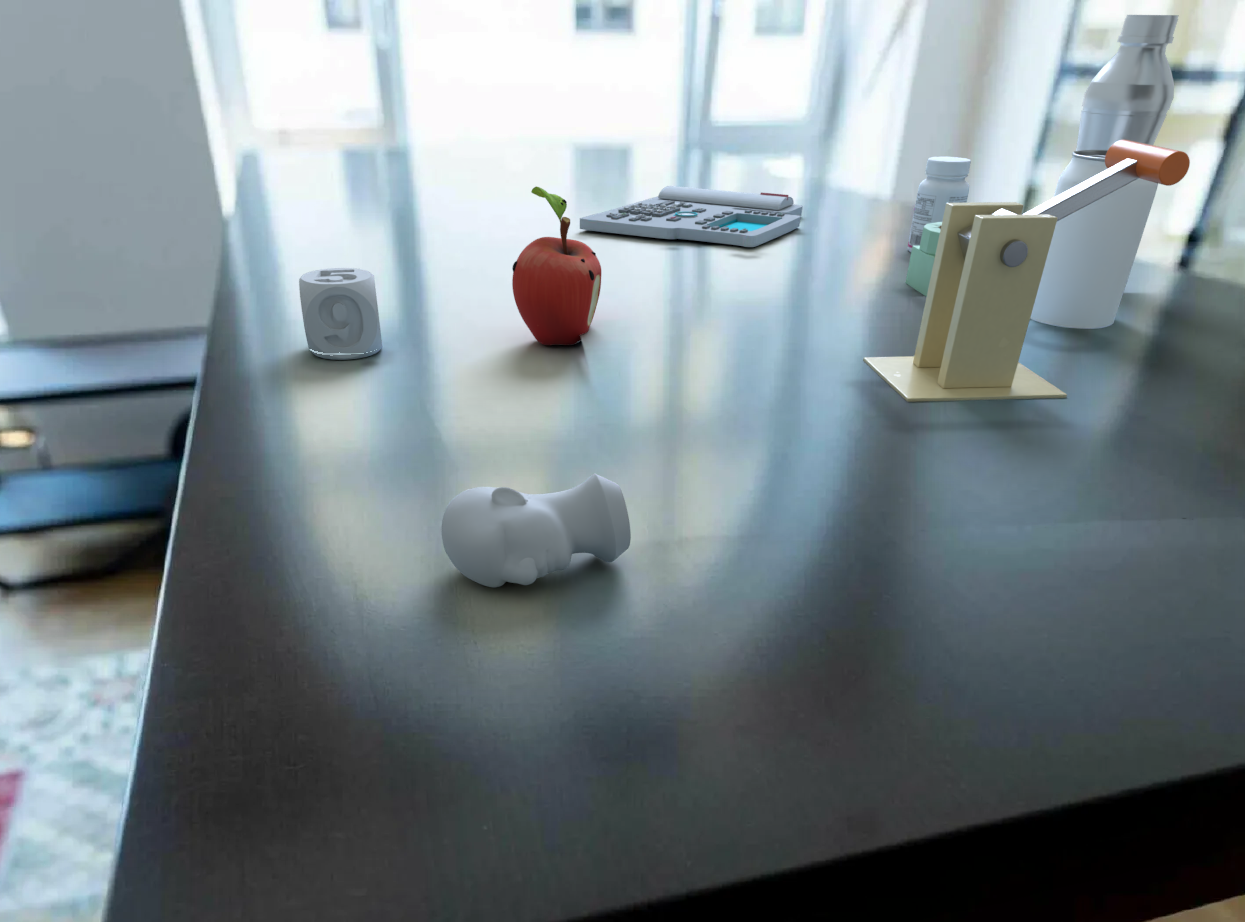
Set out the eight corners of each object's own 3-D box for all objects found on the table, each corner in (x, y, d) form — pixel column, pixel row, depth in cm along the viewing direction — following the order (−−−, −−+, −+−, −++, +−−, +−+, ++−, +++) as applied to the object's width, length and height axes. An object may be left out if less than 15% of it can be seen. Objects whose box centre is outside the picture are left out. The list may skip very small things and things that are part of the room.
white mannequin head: (444, 618, 40) (449, 533, 43) (632, 611, 40) (623, 526, 43) (431, 548, 36) (437, 460, 39) (637, 540, 36) (627, 454, 39)
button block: (998, 280, 85) (1012, 221, 82) (1038, 302, 79) (1055, 238, 76) (902, 282, 84) (913, 221, 81) (935, 303, 78) (948, 239, 75)
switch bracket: (1002, 371, 63) (1048, 197, 57) (1061, 413, 57) (1121, 221, 51) (860, 375, 63) (891, 198, 56) (903, 417, 56) (944, 223, 50)
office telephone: (672, 179, 117) (826, 193, 109) (670, 202, 118) (823, 218, 110) (578, 204, 100) (753, 223, 92) (578, 231, 102) (750, 251, 93)
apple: (625, 342, 68) (629, 192, 62) (558, 363, 64) (556, 204, 58) (553, 321, 73) (551, 179, 67) (486, 339, 69) (477, 189, 63)
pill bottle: (953, 248, 96) (973, 156, 91) (957, 258, 92) (978, 163, 87) (905, 246, 97) (922, 154, 92) (907, 255, 93) (925, 161, 88)
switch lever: (1135, 167, 56) (1129, 127, 54) (1192, 182, 51) (1187, 138, 50) (954, 263, 58) (945, 226, 57) (994, 285, 53) (985, 246, 52)
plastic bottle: (1076, 300, 79) (1161, 15, 68) (1016, 282, 84) (1086, 14, 73) (1130, 293, 81) (1222, 15, 70) (1069, 276, 86) (1144, 14, 75)
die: (381, 337, 69) (372, 266, 66) (383, 358, 65) (374, 282, 62) (311, 341, 68) (300, 268, 65) (309, 362, 64) (297, 286, 61)
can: (1075, 347, 68) (1131, 163, 61) (1001, 325, 73) (1046, 152, 66) (1127, 334, 71) (1186, 157, 64) (1053, 314, 76) (1101, 146, 69)
